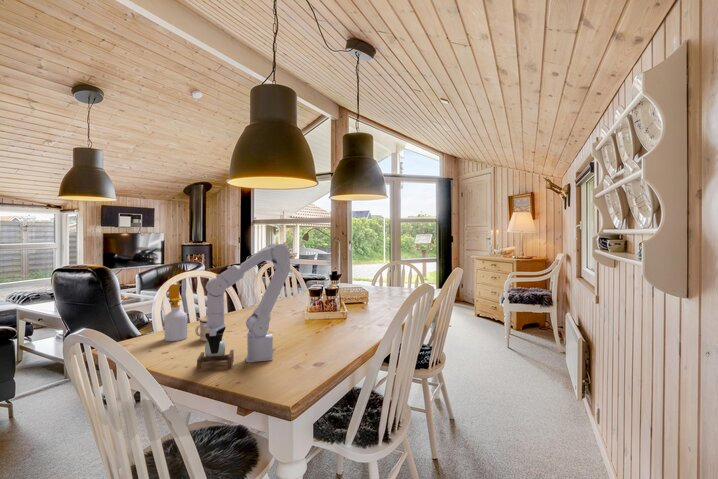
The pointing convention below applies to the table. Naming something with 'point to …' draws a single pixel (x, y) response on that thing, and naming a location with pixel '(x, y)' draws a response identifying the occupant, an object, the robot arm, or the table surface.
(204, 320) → the beige mug
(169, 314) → the soap bottle
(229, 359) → the holder
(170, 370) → the table surface
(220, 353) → the roll
